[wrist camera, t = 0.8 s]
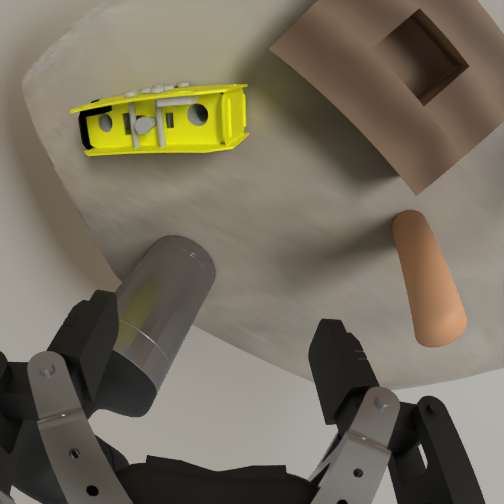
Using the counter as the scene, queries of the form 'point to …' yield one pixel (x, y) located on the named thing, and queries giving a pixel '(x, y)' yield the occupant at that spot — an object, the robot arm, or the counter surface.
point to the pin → (427, 282)
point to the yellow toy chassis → (165, 120)
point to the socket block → (405, 75)
